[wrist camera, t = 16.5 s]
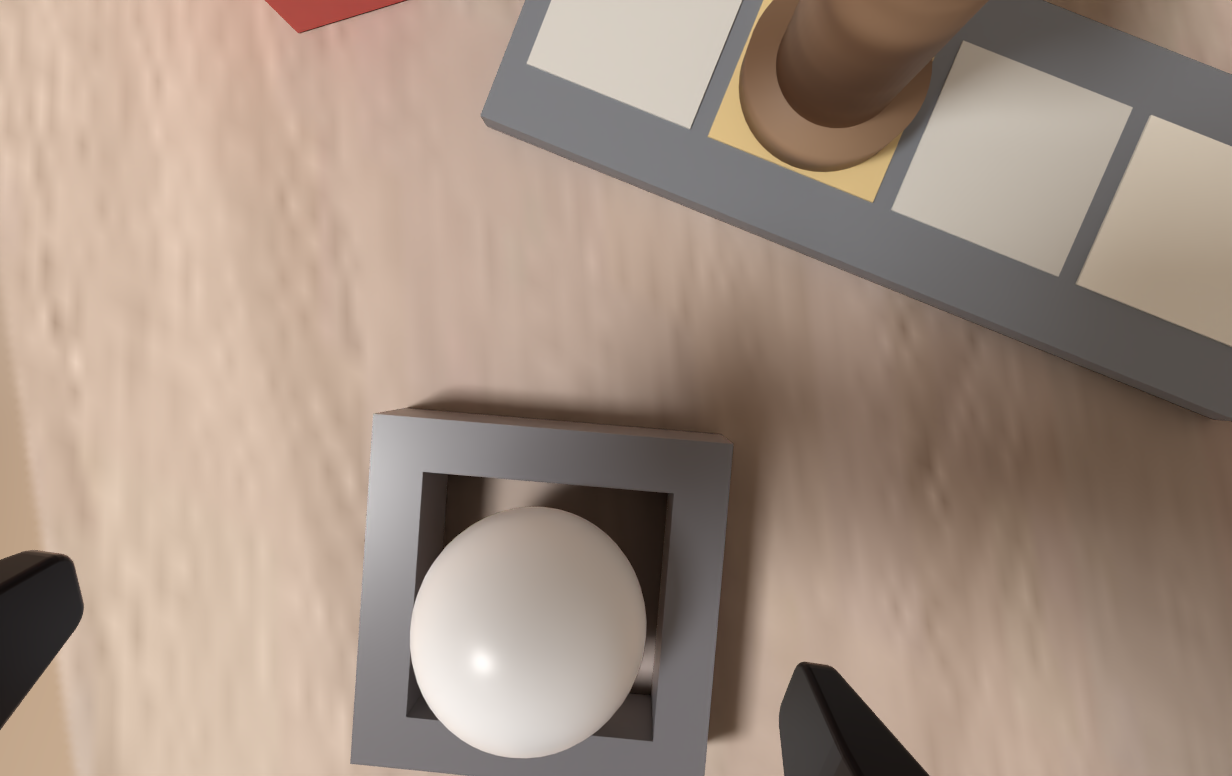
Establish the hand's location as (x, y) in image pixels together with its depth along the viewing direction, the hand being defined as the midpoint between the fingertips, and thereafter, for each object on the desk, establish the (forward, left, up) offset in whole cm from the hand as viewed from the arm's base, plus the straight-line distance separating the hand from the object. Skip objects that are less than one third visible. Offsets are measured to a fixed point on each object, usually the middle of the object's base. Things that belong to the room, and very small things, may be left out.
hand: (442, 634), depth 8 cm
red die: (+16, +8, -12) cm, 21 cm away
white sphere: (-3, 0, -12) cm, 12 cm away
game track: (+11, -10, -12) cm, 19 cm away
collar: (-3, 0, -12) cm, 12 cm away
